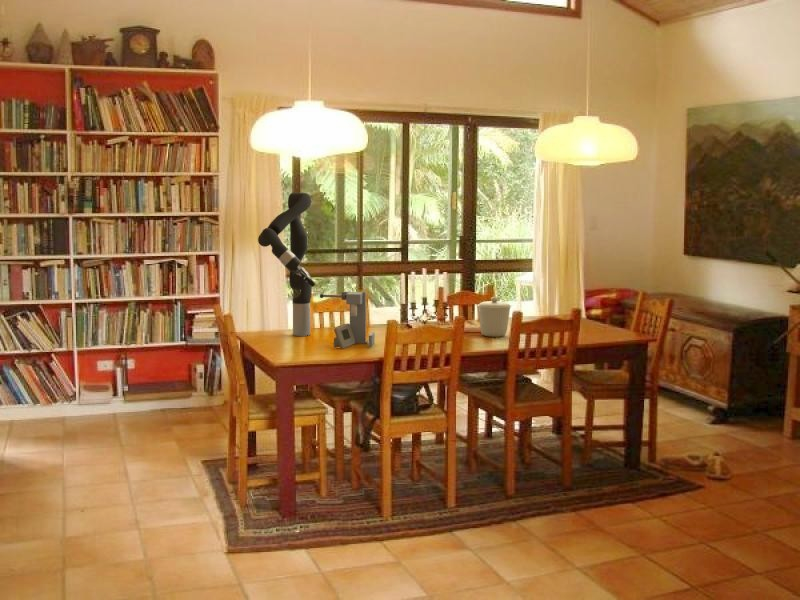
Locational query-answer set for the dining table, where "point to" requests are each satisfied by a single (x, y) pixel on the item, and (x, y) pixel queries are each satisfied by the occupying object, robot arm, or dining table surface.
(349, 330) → the digital clock
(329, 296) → the lever
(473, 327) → the dining table surface
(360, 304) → the press
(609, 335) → the dining table surface
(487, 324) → the canister
